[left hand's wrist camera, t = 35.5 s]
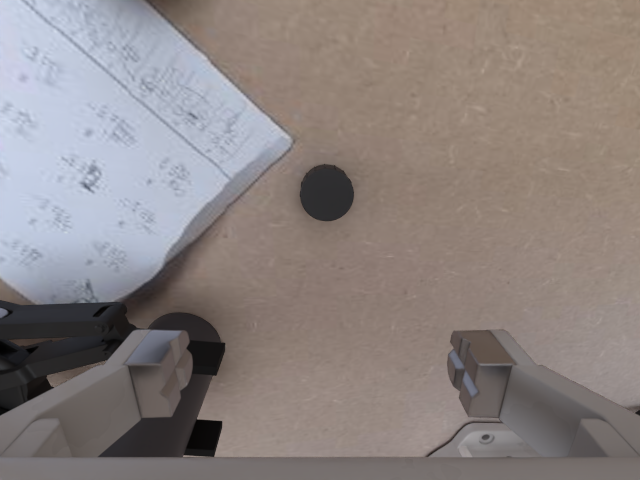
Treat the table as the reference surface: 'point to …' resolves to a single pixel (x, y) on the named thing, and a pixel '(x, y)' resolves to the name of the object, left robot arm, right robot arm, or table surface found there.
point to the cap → (326, 193)
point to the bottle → (175, 431)
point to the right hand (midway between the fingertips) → (219, 400)
